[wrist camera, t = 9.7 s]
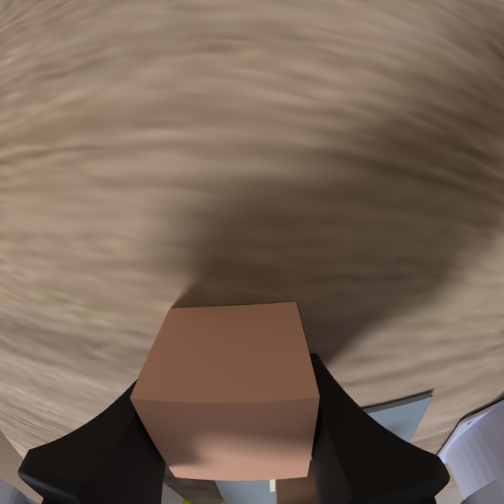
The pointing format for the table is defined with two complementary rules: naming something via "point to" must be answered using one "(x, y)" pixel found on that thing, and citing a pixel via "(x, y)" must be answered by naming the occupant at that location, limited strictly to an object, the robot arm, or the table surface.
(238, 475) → the terracotta block
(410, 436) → the plate
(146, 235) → the table surface
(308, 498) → the walnut block
